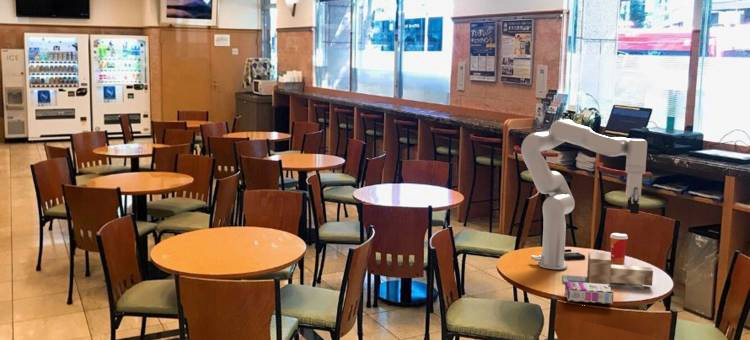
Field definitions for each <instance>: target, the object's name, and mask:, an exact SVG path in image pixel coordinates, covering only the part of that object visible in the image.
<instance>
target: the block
mask: <svg viewBox="0 0 750 340" xmlns="http://www.w3.org/2000/svg"><path fill="white" fill-rule="evenodd" d="M653 277H654V270H653V269H652V267H649V266H637V265H623V264H612V263H611V273H610V282H612V283H624V284H637V285H642V286H653V279H654V278H653Z"/></svg>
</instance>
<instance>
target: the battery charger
mask: <svg viewBox="0 0 750 340" xmlns="http://www.w3.org/2000/svg"><path fill="white" fill-rule="evenodd" d="M580 259H582V260H583V259H585V260H586V255H585V254H582V253H580V252H572V249H570V248H569V249H565V252H564V261H579V260H580Z"/></svg>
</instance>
